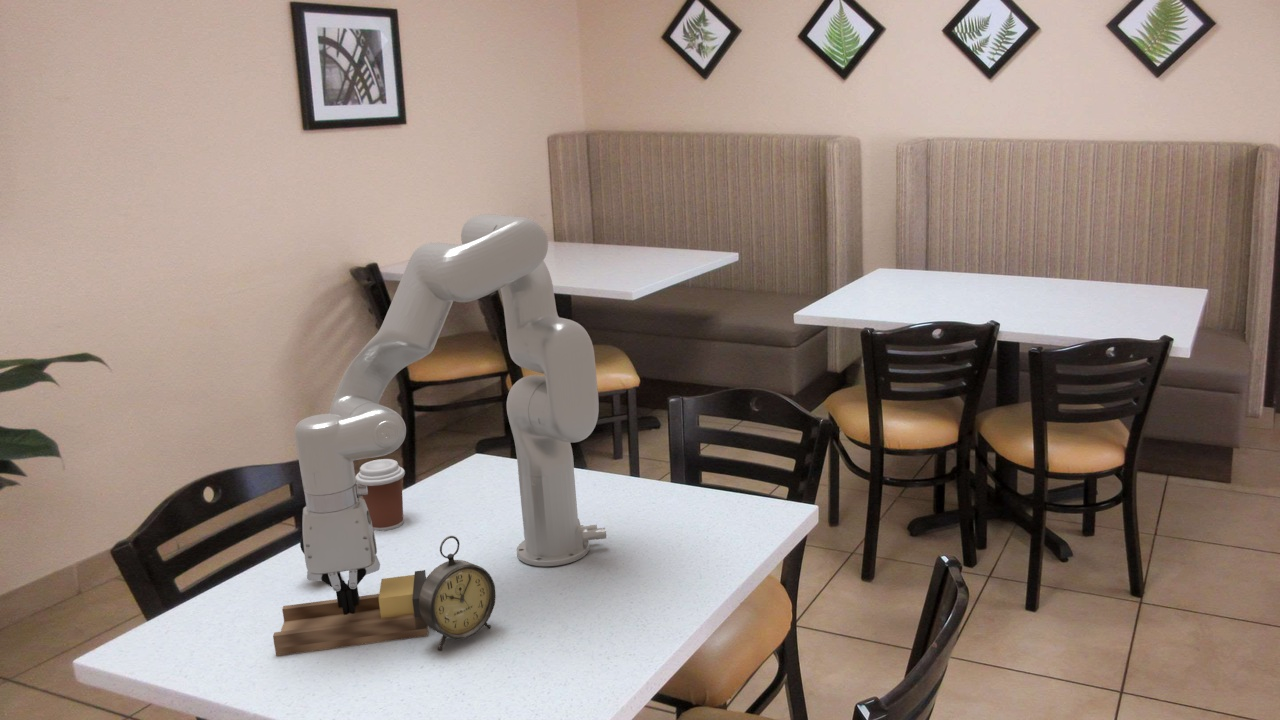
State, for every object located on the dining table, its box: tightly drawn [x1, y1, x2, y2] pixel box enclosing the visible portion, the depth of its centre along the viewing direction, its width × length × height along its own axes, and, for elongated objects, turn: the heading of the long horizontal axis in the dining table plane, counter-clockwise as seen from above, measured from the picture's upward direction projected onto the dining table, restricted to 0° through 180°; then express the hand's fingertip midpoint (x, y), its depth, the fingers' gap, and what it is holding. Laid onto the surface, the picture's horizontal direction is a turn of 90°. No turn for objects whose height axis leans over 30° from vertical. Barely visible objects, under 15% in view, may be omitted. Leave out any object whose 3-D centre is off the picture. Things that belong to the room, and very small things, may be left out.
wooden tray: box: [272, 569, 429, 657], centre depth 166 cm, size 22×10×6 cm, turn 99°
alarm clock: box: [419, 535, 497, 652], centre depth 160 cm, size 11×5×16 cm, turn 131°
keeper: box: [378, 574, 415, 618], centre depth 167 cm, size 5×7×5 cm
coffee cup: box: [355, 458, 406, 532], centre depth 207 cm, size 9×9×12 cm
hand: (350, 610), depth 166 cm, fingers closed
